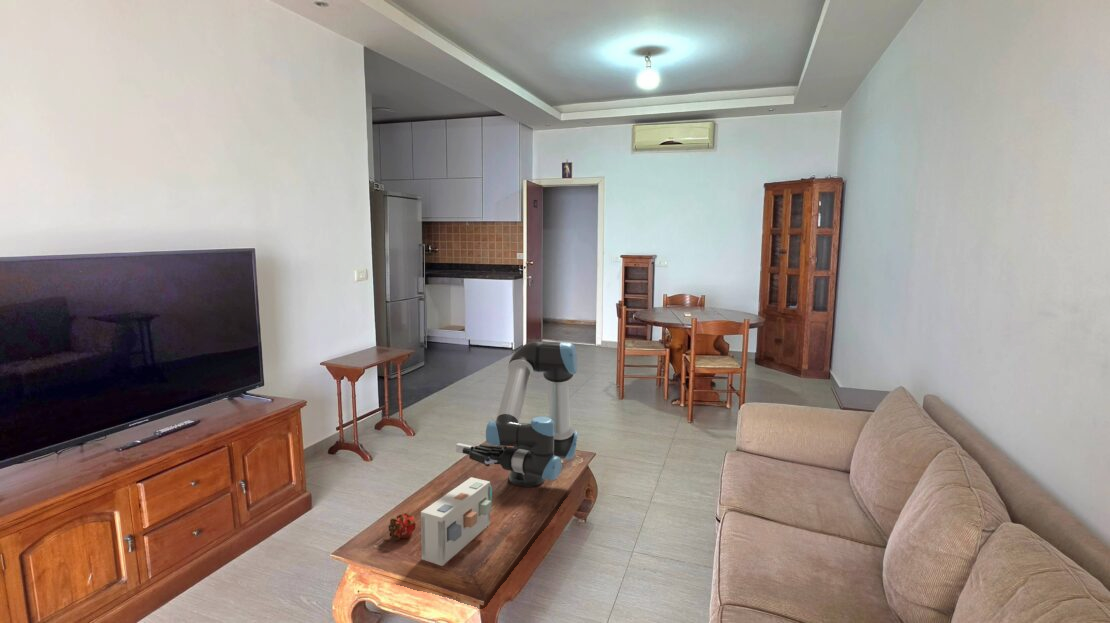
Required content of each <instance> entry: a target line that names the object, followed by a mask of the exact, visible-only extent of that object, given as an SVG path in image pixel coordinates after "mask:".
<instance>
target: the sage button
mask: <svg viewBox="0 0 1110 623" xmlns="http://www.w3.org/2000/svg"><path fill="white" fill-rule="evenodd" d="M489 512H490V513H491V512H492V500H491V501H489V500H485V499H483V500H482V501H480V502H479V514H482V515H487V514H488V513H489Z"/></svg>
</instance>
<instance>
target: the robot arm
mask: <svg viewBox="0 0 1110 623" xmlns="http://www.w3.org/2000/svg"><path fill="white" fill-rule="evenodd" d="M575 346H576V345H574V344H573V343H571V342H564V341H561V342H557V341H556V342H555V341H554V342H553V341H539V340H537V341H536V340H535V341H530V342H527V343H525V344H524V345H522V346H520V347H519V348H518V349H517V350H516V351H515V352H514V354H513V355H512V356H511V357H510V360H509V362H508V365H507V371H508V376H507V380H506V383H505V386H504V391H503V394H502V397H501V401H500V405H499V408H498V411H497V415H496V419H495V420H493V421H488V423H487V424H486V428H485V440H486V443H487V444H479V445H476V446H474V445H469V444H465V443H461V442H459V443H456V444H455V452H456V453H460V454H463V455H467V456H469V460H472V461H475V462H477V463H479V464H483V465H484V466H486V467H490V464H495V465H500V466H501V467H502V469H503V470H505V471H509V474H508V475H509V476H508V477H509V478H508V479H509V482H510V483H511V484H512V485H515V486H518V487H525V488H531V487H536V486H540V485H542V484H543V483H544V482H545V481H546V480H550V481H553V480H554V481H555V480H556V479H557V478H559V477H560V475H561V472H562V471H561V470H562V466H563V463H562V460H572V459H574V457H575V454H576V448H577V441H578V435H579V432H578V431H577V430H576V429H575V428H574V426H573V424H572V423H571V388H570V383H571V382H570V380H571V379H573V377H574V374H577V372H578V357H577V356H578V355H577V350H576V347H575ZM533 373H543V378H544V380H546V381H547V394H548V395H547V400H548V417H547V416H536V417H533V418H532V419H531V421H530V423H526V422H520V418H521V414H522V410H523V405H524V400H525V397H526V396H525V395H526V394H527V389H528V384H529V380H530V378H531V377H532V375H533Z"/></svg>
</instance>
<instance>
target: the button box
mask: <svg viewBox="0 0 1110 623" xmlns="http://www.w3.org/2000/svg"><path fill="white" fill-rule="evenodd" d="M490 486H491V481H489V480H486V479H480V478H476V477H472V476H470V477H469V478H468V479H466V480H465V481H463V482H462V483H460V484H459V485H458V486H456V487H455V488H453V489H451V490H450V491H449V492H447V493H446V494H444V495H443V496H441V497H439V499H437V500H436V501H434V502H433V503H431V504H430V505H429V506H427V507H426V508H424V509H423V510H421V511H420V538H421V539H420V540H421V541H420V542H421V544H420V546H421V560H422V561H426V562H429V563H432V564H435V565H438V566H441V567H443V566H444V565H446V564H447V563H448V562H449V561H450V560H451V559H452V558H453V557H454V556H456V555H457V554H458V553H460V552H461V551H462V549H464V548H465V547H466V546H467V545H468V544H469V543H470V542H471V541H473V540H474V539H475V538H476V537H478V535H480V534H481V533H482V532H483V531H484V530H485V529H487V528H488V527H489V526H490V525H491V512H489V513H488V514H487V515H482V514H479V502H480V501H482V500H483V499H485V500H489V501H490ZM467 511H473V512H477V523H476V524H475V525H474V526H473V527H471V528H470V527H466V526H463V515H464V514H465V513H466V512H467ZM452 523H456V524H459V525H461V528H462V536H461V537H460V538H458V539H457V540H456V541H452V540H449V539H447V527H448V526H450V525H451V524H452ZM487 526H488V527H487Z"/></svg>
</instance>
